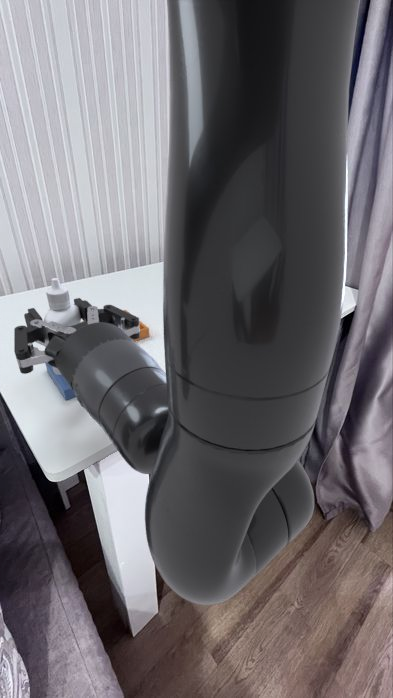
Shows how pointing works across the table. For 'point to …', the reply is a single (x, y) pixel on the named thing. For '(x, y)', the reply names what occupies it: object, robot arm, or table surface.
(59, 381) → the blue tray
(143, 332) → the amber tray
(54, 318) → the eye dropper bottle
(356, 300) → the table surface
